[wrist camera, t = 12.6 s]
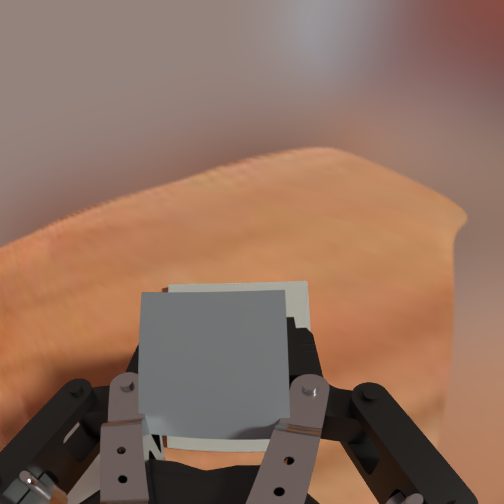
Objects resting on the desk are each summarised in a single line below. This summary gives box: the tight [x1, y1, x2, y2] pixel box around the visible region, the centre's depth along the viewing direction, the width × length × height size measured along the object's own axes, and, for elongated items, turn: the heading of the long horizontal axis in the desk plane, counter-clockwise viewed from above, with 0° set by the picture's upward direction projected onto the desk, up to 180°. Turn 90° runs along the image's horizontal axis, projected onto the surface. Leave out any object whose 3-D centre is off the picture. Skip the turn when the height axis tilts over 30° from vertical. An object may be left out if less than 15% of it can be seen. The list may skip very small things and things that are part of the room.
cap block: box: [138, 290, 290, 440], centre depth 12 cm, size 4×4×8 cm
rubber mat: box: [167, 281, 311, 452], centre depth 20 cm, size 10×12×1 cm
